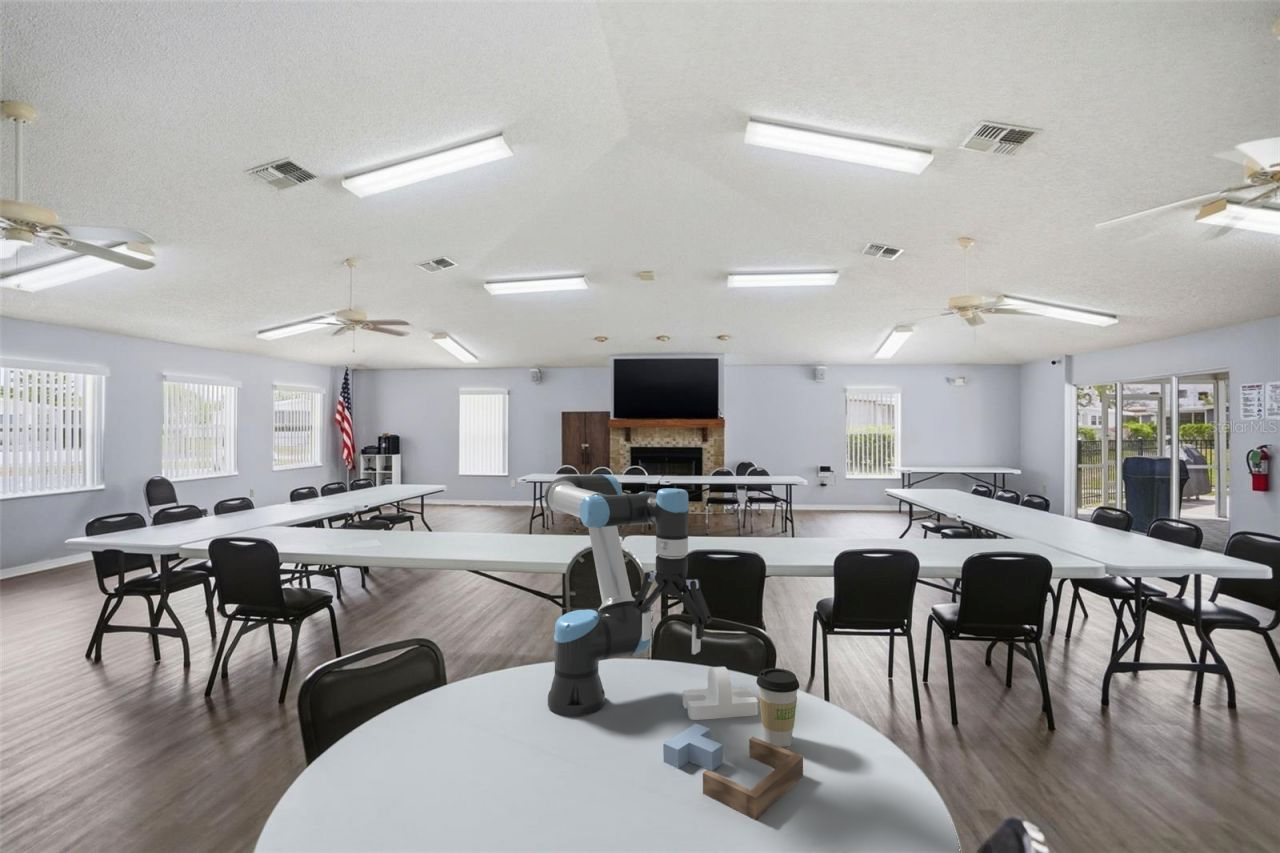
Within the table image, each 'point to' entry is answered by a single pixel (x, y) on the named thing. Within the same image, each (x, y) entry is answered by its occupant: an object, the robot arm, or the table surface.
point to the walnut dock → (763, 792)
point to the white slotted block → (719, 698)
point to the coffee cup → (777, 704)
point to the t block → (693, 749)
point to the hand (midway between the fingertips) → (670, 645)
